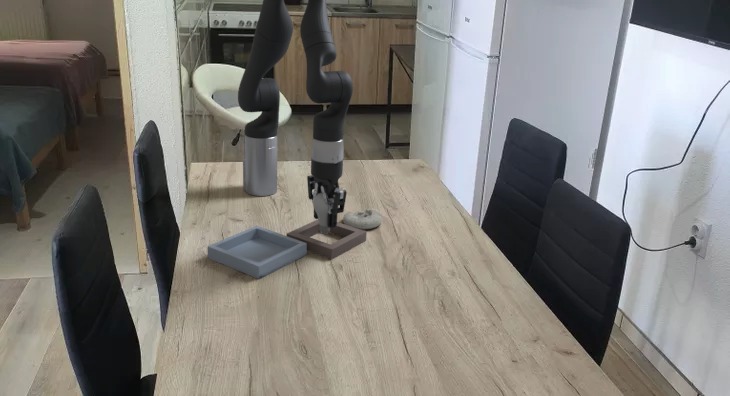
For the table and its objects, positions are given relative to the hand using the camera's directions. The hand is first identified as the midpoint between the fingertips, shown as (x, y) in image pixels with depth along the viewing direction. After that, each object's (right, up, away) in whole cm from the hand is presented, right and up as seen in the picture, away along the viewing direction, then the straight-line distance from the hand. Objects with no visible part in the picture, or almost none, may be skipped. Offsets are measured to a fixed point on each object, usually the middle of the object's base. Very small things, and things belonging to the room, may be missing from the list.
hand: (325, 222), depth 159 cm
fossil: (+9, -1, +15) cm, 17 cm away
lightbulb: (0, -3, +1) cm, 3 cm away
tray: (-15, -8, -8) cm, 19 cm away
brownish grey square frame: (0, -5, +2) cm, 5 cm away
